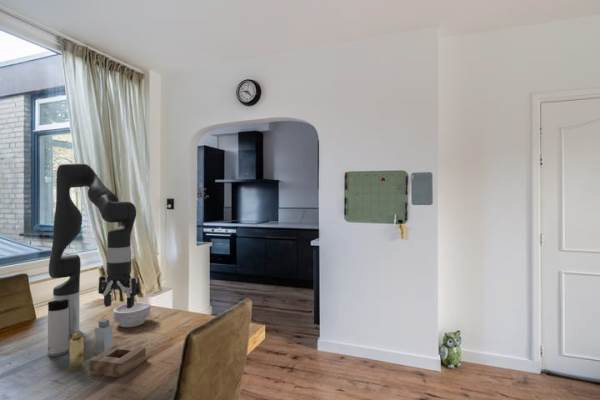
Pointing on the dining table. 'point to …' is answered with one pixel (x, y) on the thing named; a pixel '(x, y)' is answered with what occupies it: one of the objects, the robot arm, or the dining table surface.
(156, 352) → the dining table surface
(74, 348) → the round bit
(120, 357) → the socket block
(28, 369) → the dining table surface
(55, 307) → the travel mug
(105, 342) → the square bit
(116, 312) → the white patterned bowl
